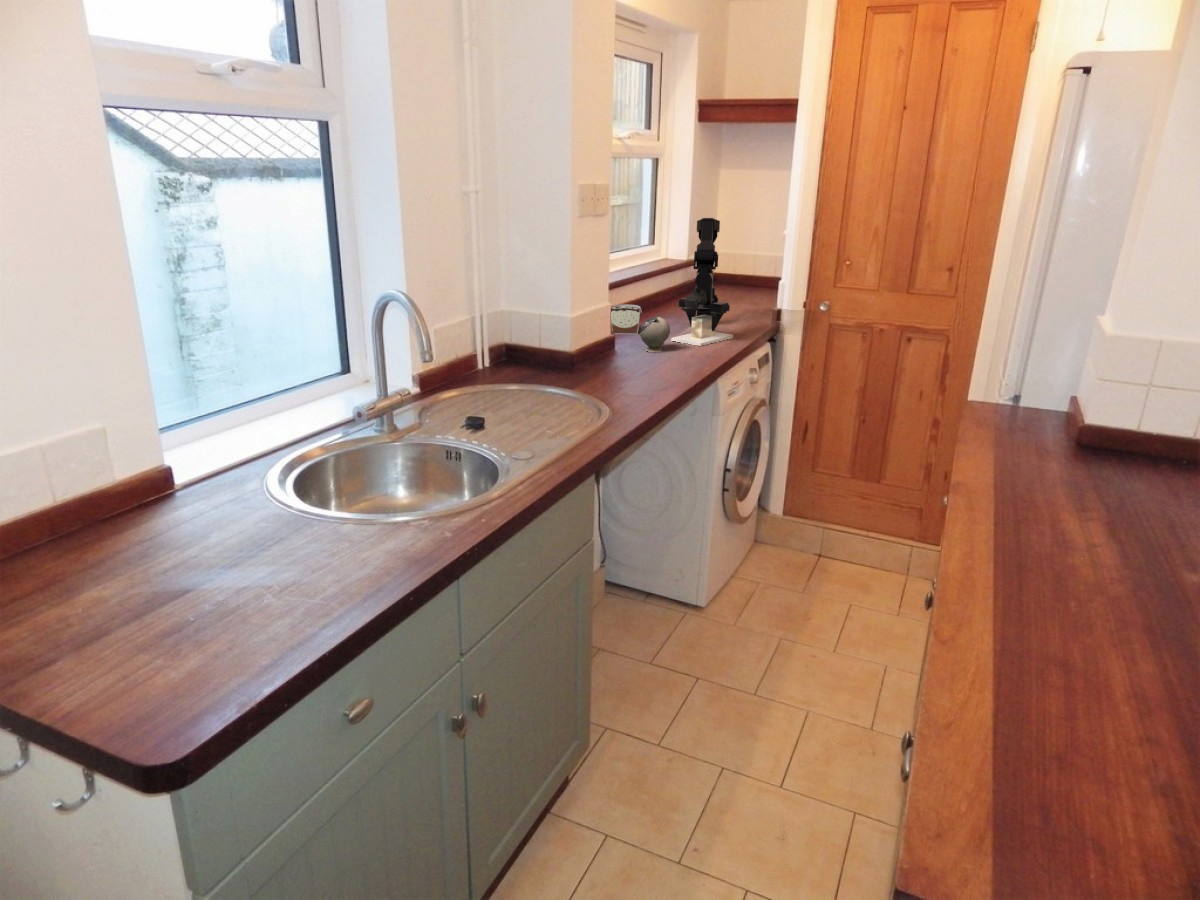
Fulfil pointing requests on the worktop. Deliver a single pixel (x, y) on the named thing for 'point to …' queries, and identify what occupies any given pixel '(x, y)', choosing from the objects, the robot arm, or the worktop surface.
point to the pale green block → (702, 326)
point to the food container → (625, 319)
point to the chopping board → (704, 341)
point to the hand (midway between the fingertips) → (702, 329)
